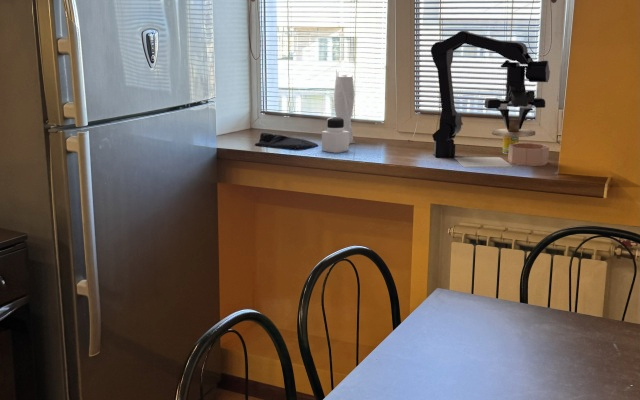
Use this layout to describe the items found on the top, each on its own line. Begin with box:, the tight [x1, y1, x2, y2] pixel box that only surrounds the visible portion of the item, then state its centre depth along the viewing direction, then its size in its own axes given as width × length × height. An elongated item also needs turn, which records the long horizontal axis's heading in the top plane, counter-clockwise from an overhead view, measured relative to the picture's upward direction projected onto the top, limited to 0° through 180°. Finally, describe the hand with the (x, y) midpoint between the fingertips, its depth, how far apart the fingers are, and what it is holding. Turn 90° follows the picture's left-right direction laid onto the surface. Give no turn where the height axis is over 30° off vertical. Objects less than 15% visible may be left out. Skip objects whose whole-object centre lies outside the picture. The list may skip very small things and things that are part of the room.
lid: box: [491, 118, 536, 138], centre depth 251 cm, size 14×14×5 cm
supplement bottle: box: [502, 127, 520, 155], centre depth 271 cm, size 5×5×10 cm
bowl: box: [507, 142, 550, 167], centre depth 254 cm, size 12×12×6 cm
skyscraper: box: [333, 69, 355, 145], centre depth 291 cm, size 8×8×28 cm
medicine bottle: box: [321, 117, 350, 154], centre depth 276 cm, size 7×7×12 cm
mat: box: [454, 156, 514, 168], centre depth 255 cm, size 16×16×1 cm
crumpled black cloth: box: [254, 132, 319, 150], centre depth 288 cm, size 15×22×5 cm
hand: (513, 129), depth 251 cm, fingers closed on lid, 4 cm apart
